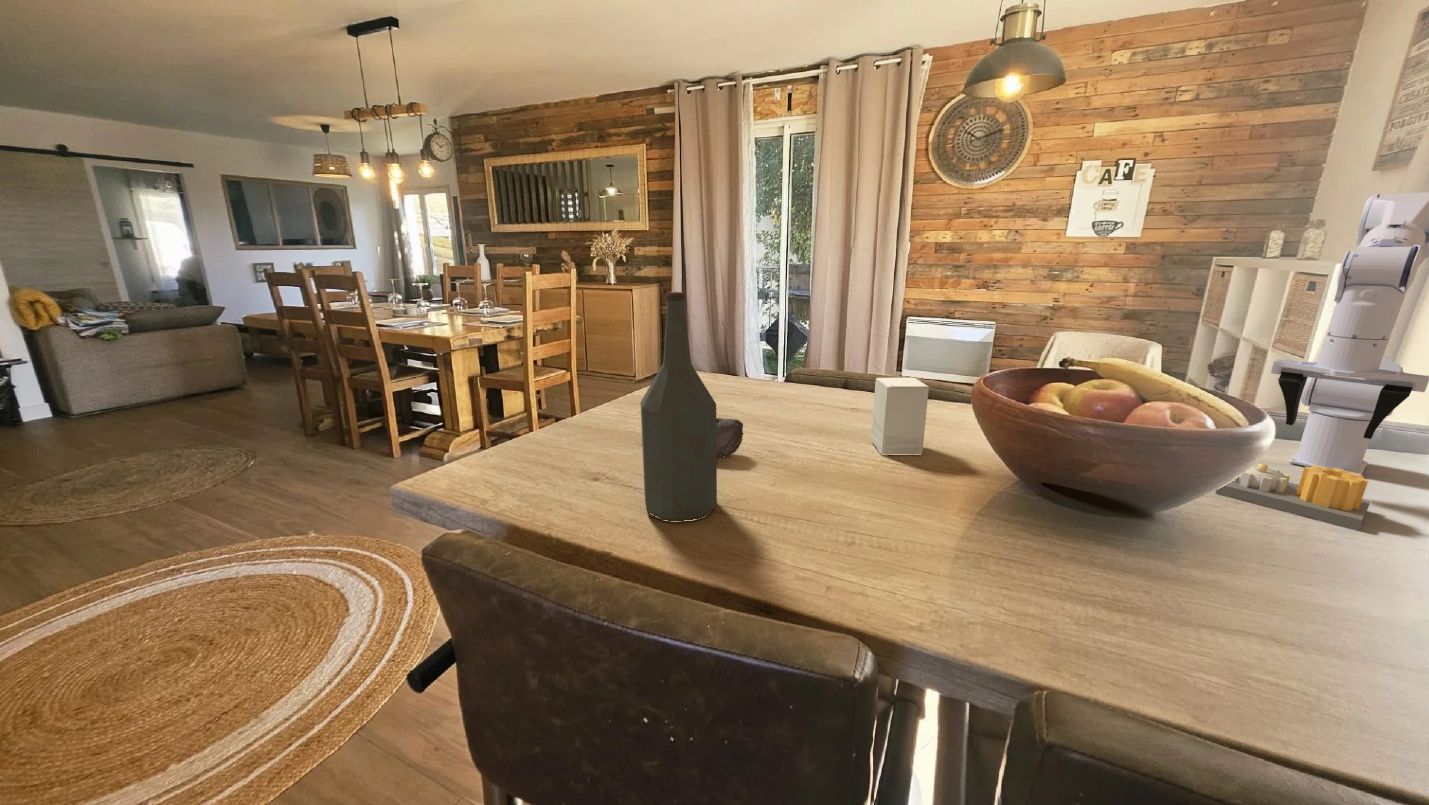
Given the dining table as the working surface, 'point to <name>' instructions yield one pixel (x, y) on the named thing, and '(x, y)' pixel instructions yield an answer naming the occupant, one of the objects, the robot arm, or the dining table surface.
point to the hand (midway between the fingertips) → (1327, 430)
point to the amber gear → (1332, 487)
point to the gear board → (1287, 497)
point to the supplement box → (899, 415)
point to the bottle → (678, 430)
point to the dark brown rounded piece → (728, 436)
